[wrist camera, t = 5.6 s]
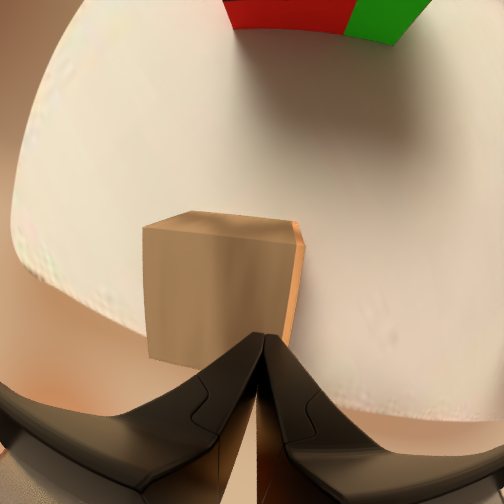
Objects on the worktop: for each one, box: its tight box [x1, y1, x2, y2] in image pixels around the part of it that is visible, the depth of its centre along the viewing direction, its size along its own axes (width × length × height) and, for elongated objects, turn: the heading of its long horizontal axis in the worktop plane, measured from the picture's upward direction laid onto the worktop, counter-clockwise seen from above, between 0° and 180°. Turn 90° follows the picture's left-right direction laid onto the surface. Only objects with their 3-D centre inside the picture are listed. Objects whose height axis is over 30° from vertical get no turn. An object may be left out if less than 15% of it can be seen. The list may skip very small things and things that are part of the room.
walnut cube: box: [143, 211, 305, 370], centre depth 13 cm, size 6×6×6 cm
